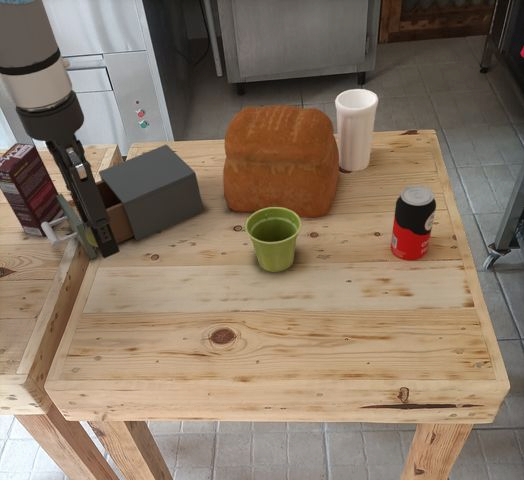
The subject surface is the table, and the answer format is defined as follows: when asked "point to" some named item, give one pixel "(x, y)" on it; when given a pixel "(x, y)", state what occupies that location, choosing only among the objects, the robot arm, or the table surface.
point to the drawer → (117, 224)
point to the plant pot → (274, 236)
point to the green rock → (90, 237)
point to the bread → (281, 160)
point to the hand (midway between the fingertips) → (104, 243)
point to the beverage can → (413, 222)
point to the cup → (355, 127)
